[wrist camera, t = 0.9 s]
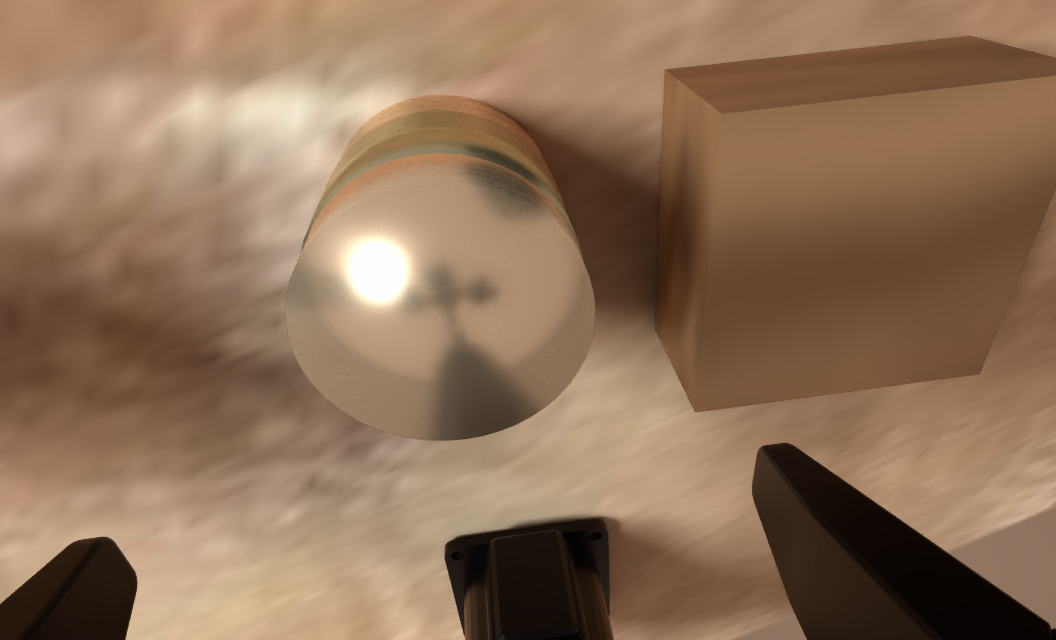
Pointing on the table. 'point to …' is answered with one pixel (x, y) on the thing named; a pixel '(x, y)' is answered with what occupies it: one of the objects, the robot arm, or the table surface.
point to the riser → (847, 215)
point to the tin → (440, 276)
